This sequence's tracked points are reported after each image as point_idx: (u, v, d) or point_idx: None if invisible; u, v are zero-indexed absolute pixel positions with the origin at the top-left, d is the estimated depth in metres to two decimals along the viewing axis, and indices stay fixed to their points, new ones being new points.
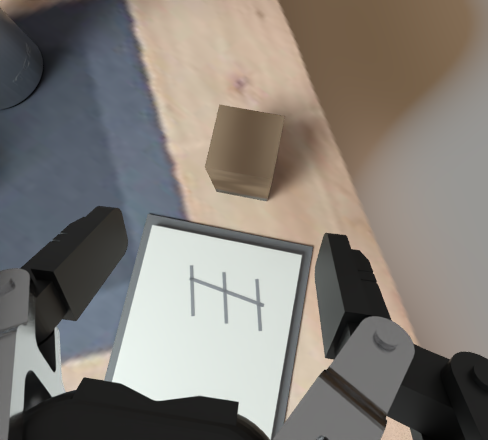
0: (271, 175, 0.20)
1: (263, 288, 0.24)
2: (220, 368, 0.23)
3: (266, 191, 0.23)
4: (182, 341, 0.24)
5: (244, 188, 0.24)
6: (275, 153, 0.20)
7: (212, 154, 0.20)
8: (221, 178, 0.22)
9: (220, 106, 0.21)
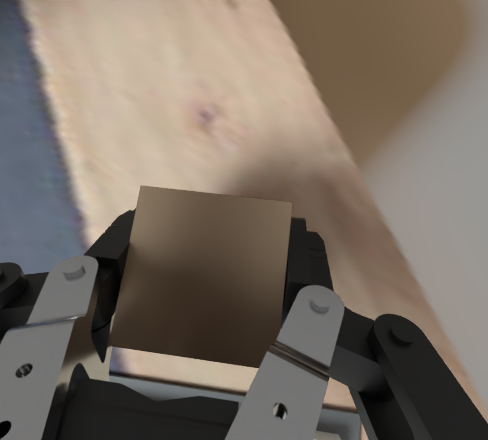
0: None
1: None
2: None
3: None
4: None
5: None
6: (278, 298, 0.08)
7: (126, 312, 0.08)
8: None
9: (143, 189, 0.09)
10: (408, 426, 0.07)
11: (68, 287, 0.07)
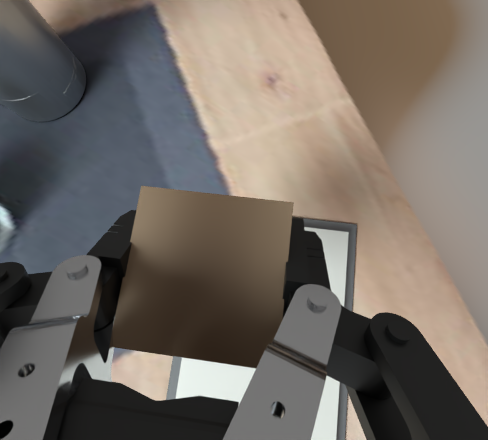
0: None
1: None
2: None
3: None
4: None
5: None
6: (279, 299, 0.08)
7: (127, 313, 0.08)
8: None
9: (143, 189, 0.09)
10: (405, 424, 0.07)
11: (71, 287, 0.07)
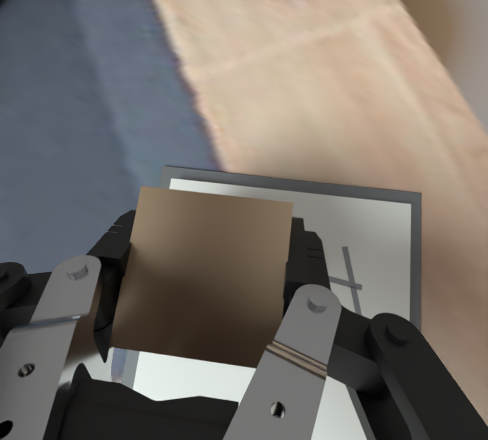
0: None
1: (357, 260, 0.15)
2: None
3: None
4: None
5: None
6: (278, 299, 0.08)
7: (127, 313, 0.08)
8: None
9: (143, 189, 0.09)
10: (405, 424, 0.07)
11: (71, 287, 0.07)
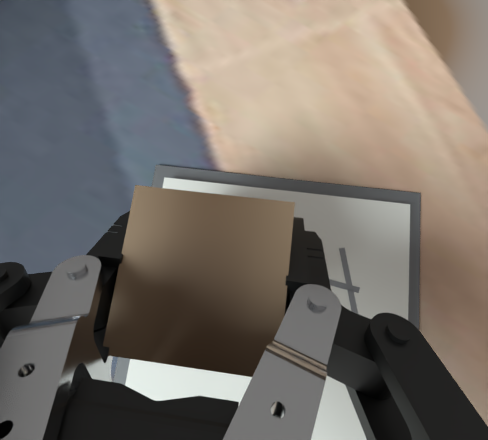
0: None
1: (354, 262, 0.15)
2: None
3: None
4: None
5: None
6: (280, 304, 0.08)
7: (120, 319, 0.08)
8: None
9: (137, 189, 0.09)
10: (405, 424, 0.07)
11: (71, 287, 0.07)
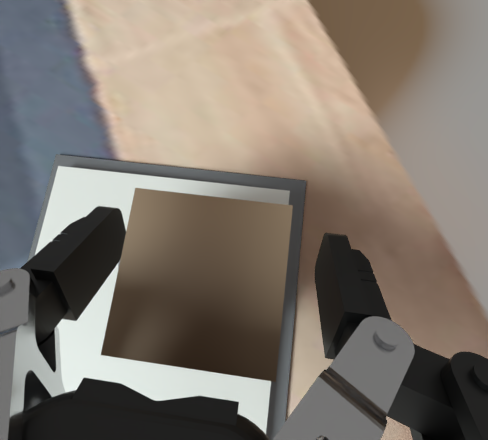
0: (272, 370, 0.08)
1: None
2: (169, 381, 0.14)
3: None
4: None
5: None
6: (277, 306, 0.08)
7: (119, 320, 0.08)
8: None
9: (137, 191, 0.09)
10: None
11: None
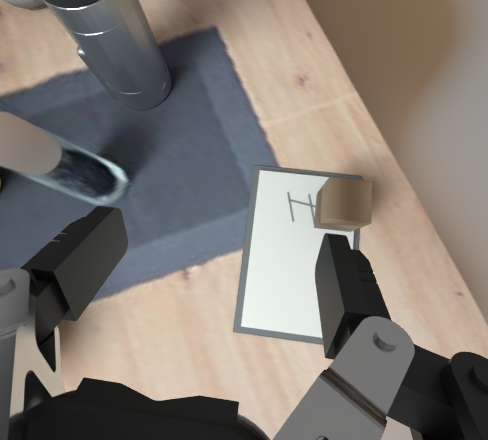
0: (369, 220, 0.31)
1: None
2: (314, 250, 0.38)
3: (356, 228, 0.35)
4: (288, 237, 0.39)
5: (341, 226, 0.35)
6: (370, 206, 0.32)
7: (330, 210, 0.32)
8: (330, 222, 0.34)
9: (330, 178, 0.33)
10: None
11: None
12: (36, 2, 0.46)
